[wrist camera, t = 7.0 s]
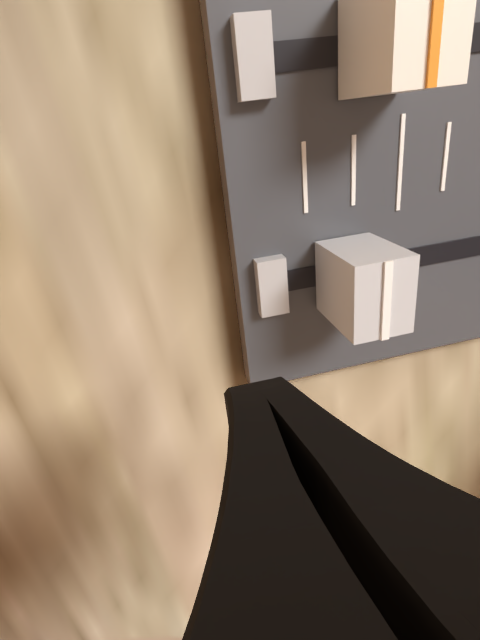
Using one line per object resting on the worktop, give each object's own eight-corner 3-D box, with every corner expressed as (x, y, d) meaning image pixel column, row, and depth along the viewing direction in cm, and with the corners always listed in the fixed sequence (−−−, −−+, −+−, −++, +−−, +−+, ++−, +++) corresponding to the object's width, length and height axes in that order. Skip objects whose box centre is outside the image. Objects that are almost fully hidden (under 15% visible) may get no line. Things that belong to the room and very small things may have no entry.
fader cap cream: (404, -9, 14) (485, -51, 11) (399, 93, 15) (469, 83, 12) (337, -4, 13) (400, -45, 10) (338, 100, 15) (393, 91, 12)
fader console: (601, -136, 15) (657, -169, 13) (510, 317, 23) (538, 331, 21) (184, -125, 12) (190, -163, 11) (245, 375, 20) (254, 396, 19)
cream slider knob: (369, 232, 17) (421, 255, 14) (367, 298, 18) (415, 333, 15) (314, 241, 17) (356, 267, 14) (316, 308, 18) (354, 346, 15)
